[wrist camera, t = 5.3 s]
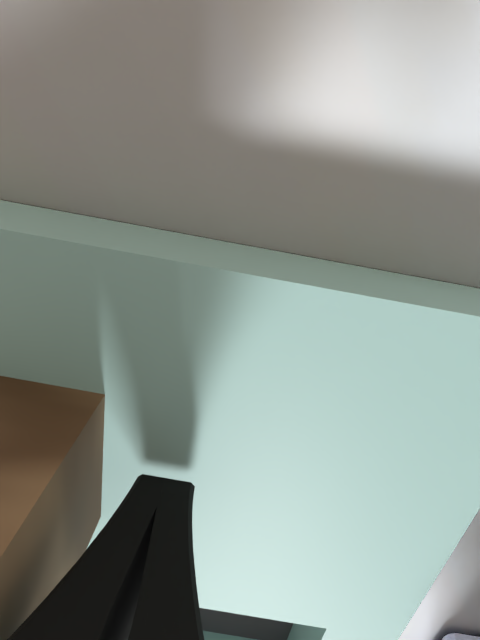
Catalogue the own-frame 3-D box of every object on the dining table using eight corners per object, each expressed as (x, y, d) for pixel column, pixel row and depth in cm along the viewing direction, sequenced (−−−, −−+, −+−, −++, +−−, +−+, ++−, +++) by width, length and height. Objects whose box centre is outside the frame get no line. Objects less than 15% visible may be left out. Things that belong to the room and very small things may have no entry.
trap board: (517, 295, 11) (652, 373, 7) (285, 748, 23) (289, 863, 19) (-65, 187, 10) (-246, 210, 7) (15, 704, 22) (-33, 814, 19)
